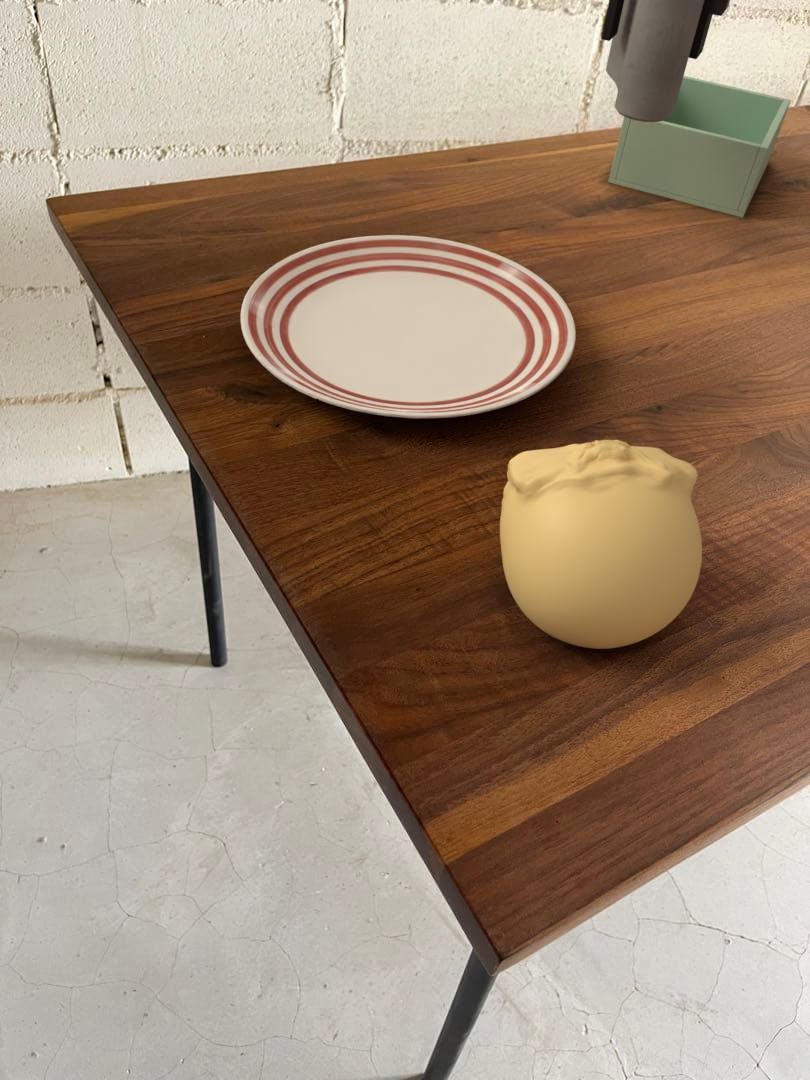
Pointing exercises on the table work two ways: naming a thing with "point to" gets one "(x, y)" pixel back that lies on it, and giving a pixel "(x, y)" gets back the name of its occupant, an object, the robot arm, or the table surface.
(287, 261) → the dinner plate
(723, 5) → the robot arm
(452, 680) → the table surface
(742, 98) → the basin
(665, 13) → the flask
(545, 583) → the sculpture
